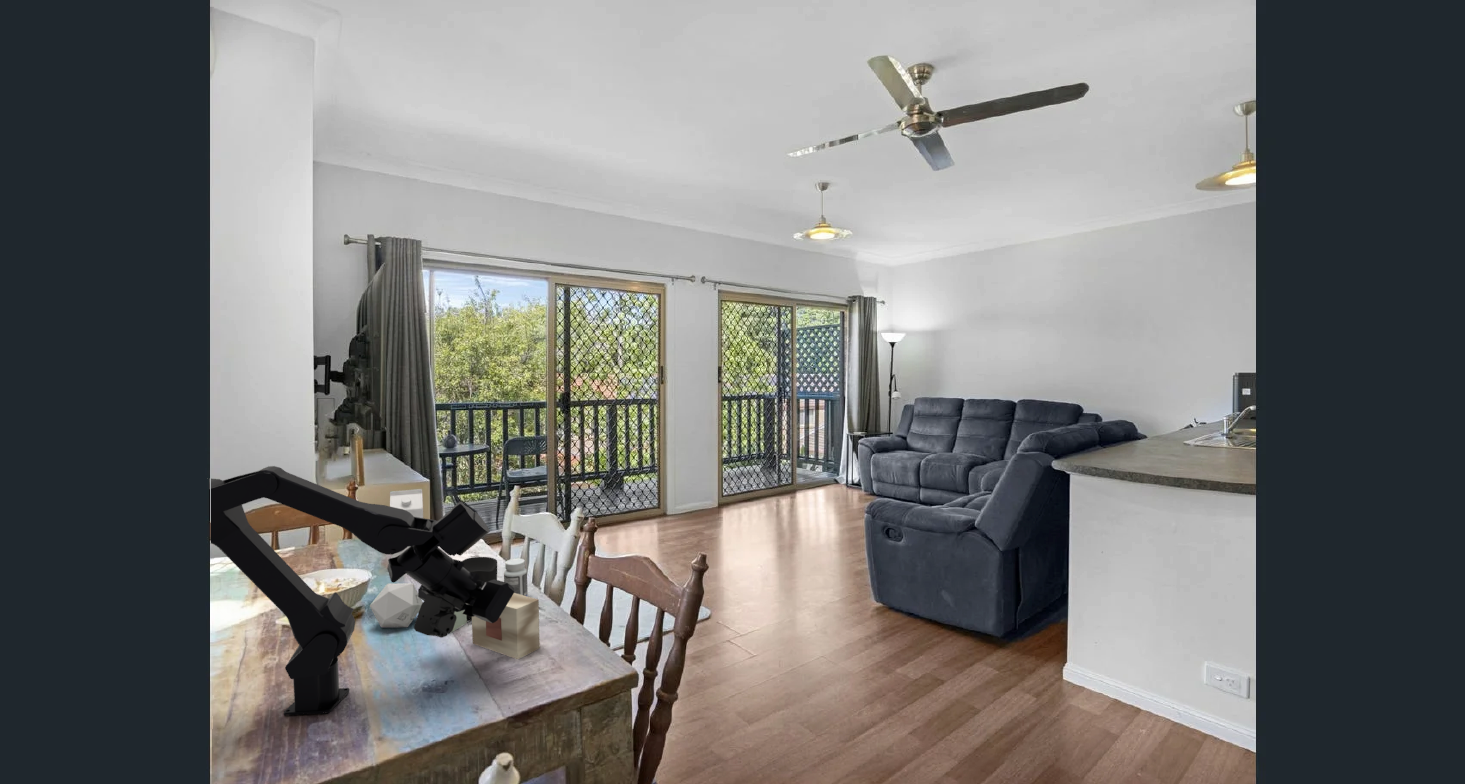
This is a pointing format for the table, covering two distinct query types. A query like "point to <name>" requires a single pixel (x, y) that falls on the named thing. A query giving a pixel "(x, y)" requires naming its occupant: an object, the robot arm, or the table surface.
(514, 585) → the pill bottle
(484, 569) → the pen holder
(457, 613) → the sage block
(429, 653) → the table surface
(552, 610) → the table surface
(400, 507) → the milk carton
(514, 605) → the birch block
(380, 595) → the die
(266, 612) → the table surface
